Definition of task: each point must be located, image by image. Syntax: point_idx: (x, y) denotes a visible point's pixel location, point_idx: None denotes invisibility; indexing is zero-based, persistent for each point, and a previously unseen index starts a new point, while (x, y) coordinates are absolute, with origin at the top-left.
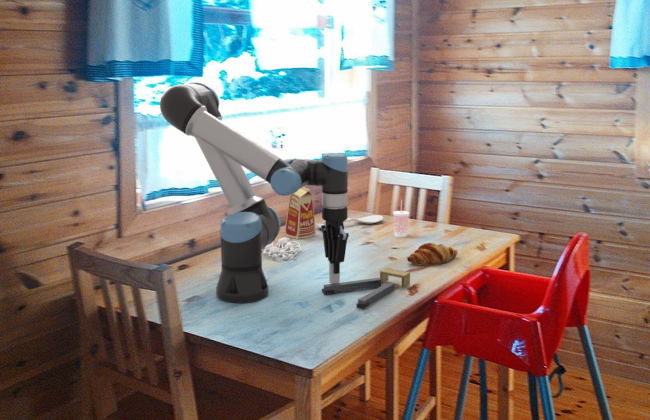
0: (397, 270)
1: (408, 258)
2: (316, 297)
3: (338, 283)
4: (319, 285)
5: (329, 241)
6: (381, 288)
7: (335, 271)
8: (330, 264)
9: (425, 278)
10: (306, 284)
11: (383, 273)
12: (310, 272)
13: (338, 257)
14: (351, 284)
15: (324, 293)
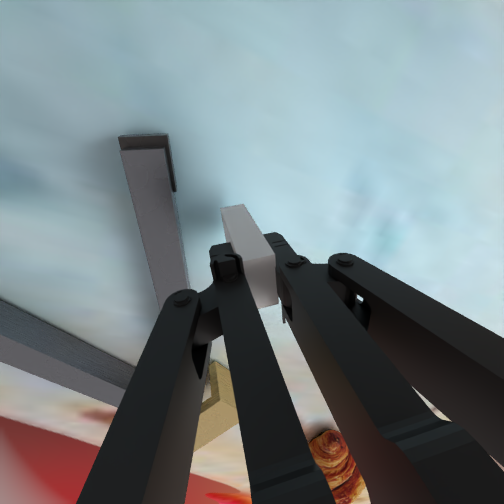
0: (210, 438)
1: (331, 442)
2: (94, 71)
3: (168, 233)
4: (278, 161)
5: (378, 404)
6: (63, 374)
7: (210, 253)
8: (256, 250)
9: (223, 442)
10: (317, 101)
11: (207, 402)
12: (435, 179)
13: (152, 340)
14: (154, 284)
15: (125, 135)
